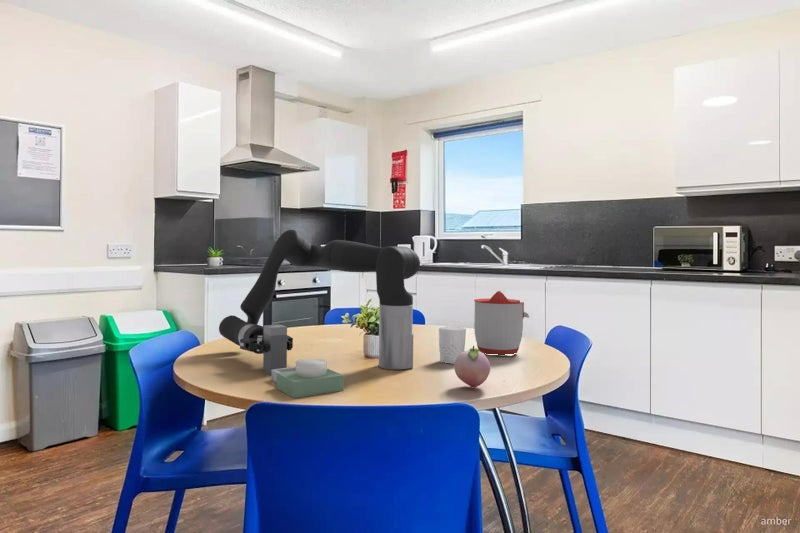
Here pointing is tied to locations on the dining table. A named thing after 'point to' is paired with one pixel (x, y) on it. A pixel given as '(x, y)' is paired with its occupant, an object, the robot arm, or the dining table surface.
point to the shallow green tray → (307, 378)
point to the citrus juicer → (499, 324)
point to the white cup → (451, 342)
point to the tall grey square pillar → (275, 347)
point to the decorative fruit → (472, 367)
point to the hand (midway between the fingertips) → (278, 347)
